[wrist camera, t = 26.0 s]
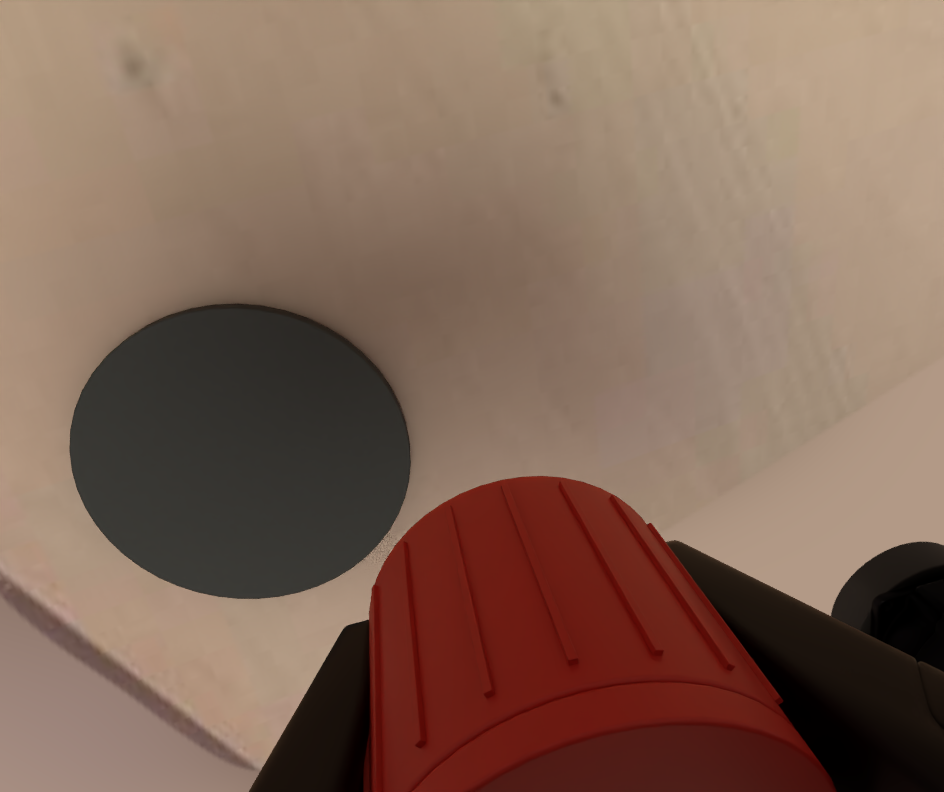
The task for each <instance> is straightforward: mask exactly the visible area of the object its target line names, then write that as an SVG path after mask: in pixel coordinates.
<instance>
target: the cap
mask: <svg viewBox="0 0 944 792" xmlns="http://www.w3.org/2000/svg"><path fill="white" fill-rule="evenodd" d="M369 665H370V696H369V736H368V743H367V749H366V755H365V761H364V769H363V792H837V791H836V788H835V786H834V783H833V781H832V779H831V777H830V776H829V774H828V773H827V772H826V770H825V769H824V767H823V766H822V764H821V763H820V762H819V760H818V759H817V758H816V756H815V755H814V753H813V752H812V751H811V749H810V748H809V747H808V745H807V744H806V742H805V741H804V740H803V738H802V737H801V736H800V734H799V733H798V731H797V730H796V729H795V728H794V726H793V725H792V723H791V722H790V721H789V719H788V718H787V716H786V715H785V714H784V712H783V711H782V710H781V708H780V707H779V704H780V703H782V702H783V699H782V698H781V697H780V695H779V694H778V693H777V691H776V690H775V689H774V687H773V686H772V685H771V683H770V682H769V681H768V679H767V678H766V677H765V675H764V674H763V673H762V671H761V670H760V669H759V667H758V666H757V665H756V663H755V662H754V660H753V659H752V658H751V656H750V655H749V654H748V652H747V651H746V650H745V648H744V647H743V646H742V644H741V643H740V642H739V640H738V639H737V638H736V636H735V635H734V634H733V632H732V631H731V630H730V628H729V627H728V626H727V624H726V623H725V621H724V620H723V619H722V617H721V616H720V615H719V613H718V612H717V611H716V609H715V608H714V607H713V605H712V604H711V603H710V601H709V600H708V599H707V597H706V596H705V595H704V593H703V592H702V591H701V589H700V588H699V587H698V585H697V584H696V582H695V581H694V580H693V578H692V577H691V576H690V574H689V573H688V572H687V570H686V569H685V568H684V566H683V565H682V564H681V562H680V561H679V560H678V558H677V557H676V556H675V554H674V553H673V552H672V550H671V549H670V548H669V546H668V545H667V543H666V542H665V541H664V539H663V538H662V537H661V535H660V534H659V533H658V531H657V530H656V529H655V527H654V526H653V525H652V524H651V523H649V524H648V525H647V524H646V523H645V522H644V520H643V519H642V518H641V517H640V516H639V515H638V514H637V513H636V512H635V511H634V510H633V509H632V508H631V507H630V506H629V505H627V504H626V503H625V502H623V501H622V500H621V499H619V498H618V497H617V496H615V495H613V494H611V493H609V492H607V491H605V490H603V489H601V488H598V487H596V486H593V485H590V484H587V483H584V482H581V481H576V480H571V479H567V478H561V477H548V476H531V477H518V478H511V479H505V480H500V481H496V482H492V483H489V484H485V485H481V486H479V487H476V488H474V489H471V490H469V491H466V492H464V493H461V494H459V495H457V496H455V497H454V498H452V499H450V500H448V501H446V502H444V503H442V504H441V505H439V506H438V507H436V508H435V509H434V510H432V511H431V512H429V513H428V514H426V515H425V516H424V517H423V518H422V519H420V520H419V521H418V522H417V523H416V524H415V525H414V526H413V527H411V528H410V529H409V530H408V531H407V533H406V534H405V535H404V536H403V537H402V538H401V540H400V541H399V542H398V543H397V544H396V545H395V547H394V548H393V550H392V551H391V553H390V554H389V556H388V557H387V559H386V560H385V562H384V564H383V566H382V568H381V570H380V573H379V575H378V577H377V579H376V582H375V585H373V587H372V596H371V603H370V610H369Z"/></svg>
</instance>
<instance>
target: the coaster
mask: <svg viewBox="0 0 944 792" xmlns="http://www.w3.org/2000/svg"><path fill="white" fill-rule="evenodd" d="M70 458H71V466H72V472H73V476H74V479H75V483H76V487H77V490H78V492H79V494H80V497H81V499H82V501H83V503H84V506H85V508H86V510H87V511H88V513H89V514H90V516H91V517H92V519H93V521H94V522H95V524H96V525H97V527H98V528H99V529H100V530H101V531H102V533H103V534H104V535H105V536H106V537H107V539H108V540H109V541H110V542H111V543H112V544H113V545H114V546H115V547H116V548H117V549H119V550H120V551H121V552H122V553H123V554H124V555H125V556H126V557H128V558H129V559H130V560H132V561H133V562H135V563H136V564H137V565H139V566H140V567H141V568H143V569H145V570H147V571H148V572H150V573H152V574H154V575H155V576H157V577H159V578H161V579H163V580H165V581H168V582H170V583H172V584H175V585H177V586H180V587H183V588H186V589H189V590H192V591H195V592H199V593H203V594H208V595H213V596H218V597H227V598H237V599H261V598H270V597H279V596H284V595H289V594H294V593H298V592H302V591H305V590H308V589H311V588H314V587H317V586H319V585H321V584H324V583H326V582H328V581H330V580H332V579H334V578H336V577H338V576H340V575H341V574H343V573H345V572H346V571H348V570H350V569H351V568H352V567H354V566H355V565H356V564H357V563H359V562H360V561H361V560H363V559H364V558H365V557H366V556H367V555H368V554H369V553H370V552H371V551H372V550H373V549H374V548H375V547H376V546H377V545H378V544H379V543H380V541H381V540H382V539H383V538H384V536H385V535H386V534H387V532H388V531H389V530H390V528H391V526H392V524H393V523H394V521H395V519H396V518H397V516H398V514H399V511H400V509H401V506H402V504H403V501H404V499H405V495H406V491H407V487H408V483H409V475H410V464H411V461H410V444H409V437H408V432H407V427H406V422H405V419H404V416H403V413H402V410H401V408H400V405H399V402H398V401H397V399H396V397H395V395H394V393H393V391H392V389H391V387H390V385H389V384H388V383H387V381H386V380H385V378H384V377H383V376H382V374H381V373H380V371H379V370H378V369H377V368H376V367H375V366H374V364H373V363H372V362H371V361H370V360H369V359H368V358H367V357H366V356H365V355H364V354H363V353H362V352H361V351H360V350H358V349H357V348H356V347H355V346H354V345H352V344H351V343H350V342H349V341H348V340H346V339H345V338H343V337H341V336H340V335H338V334H337V333H335V332H334V331H332V330H330V329H329V328H327V327H325V326H323V325H321V324H319V323H317V322H314V321H312V320H310V319H308V318H306V317H303V316H300V315H297V314H294V313H291V312H288V311H284V310H280V309H275V308H270V307H265V306H258V305H245V304H223V305H210V306H204V307H198V308H192V309H188V310H185V311H182V312H179V313H175V314H172V315H169V316H166V317H164V318H162V319H160V320H158V321H156V322H153V323H151V324H149V325H147V326H145V327H144V328H142V329H141V330H139V331H138V332H136V333H135V334H133V335H132V336H130V337H128V338H127V339H126V340H125V341H123V342H122V343H121V344H120V345H119V346H118V347H117V348H115V349H114V350H113V351H112V352H111V353H110V354H109V355H107V356H106V358H105V359H104V360H103V361H102V362H101V364H100V365H99V366H98V367H97V368H96V370H95V371H94V372H93V373H92V375H91V377H90V378H89V380H88V382H87V383H86V385H85V387H84V389H83V390H82V392H81V395H80V398H79V400H78V403H77V405H76V408H75V411H74V415H73V420H72V425H71V430H70Z"/></svg>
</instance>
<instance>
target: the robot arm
mask: <svg viewBox="0 0 944 792" xmlns="http://www.w3.org/2000/svg"><path fill="white" fill-rule="evenodd" d="M666 543H667V545H668V546H669V548H670V549H671V550H672V552H673V553H674V554H675V556H676V557H677V558H678V560H679V561H680V562H681V564H682V565H683V566H684V568H685V569H686V570H687V572H688V573H689V574H690V576H691V577H692V578H693V580H694V581H695V582H696V584H697V585H698V587H699V588H700V589H701V591H702V592H703V593H704V595H705V596H706V597H707V599H708V600H709V601H710V603H711V604H712V605H713V607H714V608H715V609H716V611H717V612H718V613H719V615H720V616H721V617H722V619H723V620H724V621H725V623H726V624H727V626H728V627H729V628H730V630H731V631H732V632H733V634H734V635H735V636H736V638H737V639H738V640H739V642H740V643H741V644H742V646H743V647H744V648H745V650H746V651H747V652H748V654H749V655H750V656H751V658H752V659H753V660H754V662H755V663H756V665H757V666H758V667H759V669H760V670H761V671H762V673H763V674H764V675H765V677H766V678H767V679H768V681H769V682H770V683H771V685H772V686H773V687H774V689H775V690H776V691H777V693H778V694H779V695H780V697H781V698H782V699H783V702H782V703H780V704H779V707H780V708H781V710H782V711H783V712H784V714H785V715H786V716H787V718H788V719H789V721H790V722H791V723H792V725H793V726H794V728H795V729H796V730H797V731H798V733H799V734H800V736H801V737H802V738H803V740H804V741H805V742H806V744H807V745H808V747H809V748H810V749H811V751H812V752H813V753H814V755H815V756H816V758H817V759H818V760H819V762H820V763H821V764H822V766H823V767H824V769H825V770H826V772H827V773H828V774H829V776H830V777H831V779H832V781H833V783H834V786H835V788H836V791H837V792H944V576H943V577H939V578H935V579H932V580H928V581H925V582H921V583H918V584H914V585H910V586H907V587H903V588H900V589H896V590H893V591H889V592H885V593H882V594H879V595H878V596H876V597H875V598H874V600H873V602H872V611H871V627H870V635H868V634H865V633H863V632H861V631H859V630H857V629H855V628H853V627H851V626H849V625H847V624H845V623H843V622H841V621H839V620H837V619H835V618H833V617H831V616H829V615H827V614H825V613H823V612H821V611H819V610H817V609H815V608H813V607H811V606H809V605H807V604H805V603H803V602H801V601H799V600H797V599H795V598H793V597H791V596H789V595H787V594H785V593H783V592H781V591H779V590H777V589H775V588H773V587H771V586H769V585H767V584H765V583H763V582H760V581H759V580H756V579H754V578H752V577H750V576H748V575H746V574H744V573H742V572H740V571H738V570H736V569H734V568H732V567H730V566H728V565H726V564H724V563H722V562H720V561H718V560H716V559H714V558H712V557H710V556H708V555H706V554H704V553H702V552H700V551H698V550H696V549H694V548H692V547H690V546H688V545H686V544H684V543H682V542H679V541H676V540H674V541H669V542H666ZM369 696H370V665H369V620H366V621H362V622H358V623H355V624H351V625H348V626H346V627H345V628H344V629H343V630H342V632H341V634H340V635H339V637H338V639H337V641H336V642H335V644H334V646H333V647H332V649H331V651H330V653H329V654H328V656H327V658H326V660H325V661H324V663H323V665H322V666H321V668H320V670H319V672H318V673H317V675H316V677H315V678H314V680H313V682H312V684H311V685H310V687H309V689H308V691H307V692H306V694H305V696H304V697H303V699H302V701H301V703H300V704H299V706H298V708H297V709H296V711H295V713H294V715H293V716H292V718H291V720H290V722H289V723H288V725H287V727H286V728H285V730H284V732H283V734H282V735H281V737H280V739H279V740H278V742H277V744H276V746H275V747H274V749H273V751H272V753H271V754H270V756H269V758H268V759H267V761H266V763H265V765H264V766H263V768H262V770H261V771H260V773H259V775H258V777H257V778H256V780H255V782H254V784H253V785H252V787H251V789H250V791H249V792H363V769H364V761H365V755H366V749H367V743H368V736H369Z"/></svg>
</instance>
